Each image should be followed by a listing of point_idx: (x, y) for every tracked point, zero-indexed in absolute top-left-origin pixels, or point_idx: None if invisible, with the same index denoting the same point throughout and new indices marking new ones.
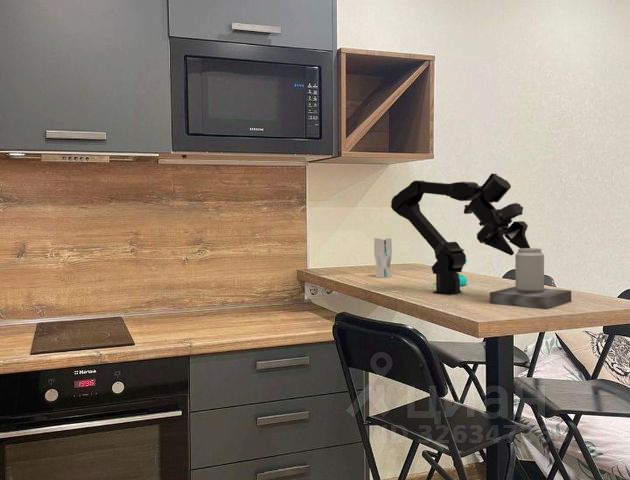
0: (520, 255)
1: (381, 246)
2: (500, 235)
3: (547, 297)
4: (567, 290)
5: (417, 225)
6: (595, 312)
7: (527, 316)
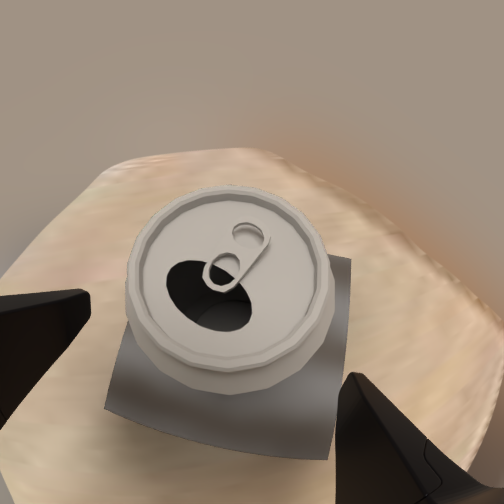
0: (328, 327)
1: None
2: (497, 489)
3: (343, 257)
4: None
5: None
6: (316, 181)
7: (440, 287)
